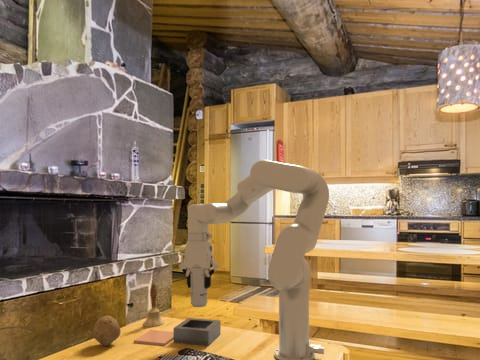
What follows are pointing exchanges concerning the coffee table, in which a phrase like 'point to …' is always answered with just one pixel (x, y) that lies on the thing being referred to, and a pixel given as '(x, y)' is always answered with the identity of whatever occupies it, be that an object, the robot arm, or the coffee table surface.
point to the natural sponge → (106, 330)
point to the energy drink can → (198, 287)
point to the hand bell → (153, 311)
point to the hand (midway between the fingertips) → (198, 287)
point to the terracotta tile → (155, 337)
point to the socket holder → (197, 331)
